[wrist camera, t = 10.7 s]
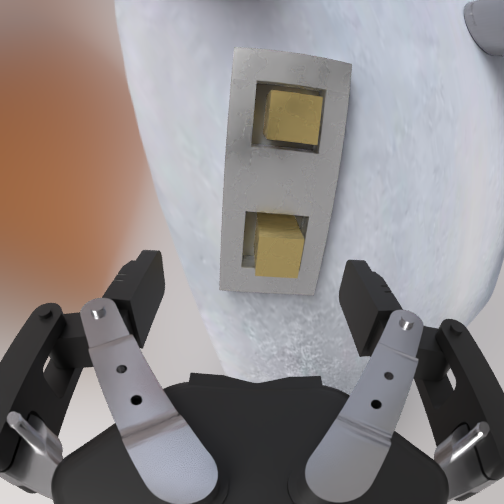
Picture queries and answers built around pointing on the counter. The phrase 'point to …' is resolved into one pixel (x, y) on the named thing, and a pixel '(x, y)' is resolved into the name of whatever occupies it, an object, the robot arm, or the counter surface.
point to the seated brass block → (292, 117)
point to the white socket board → (280, 166)
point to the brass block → (277, 245)
